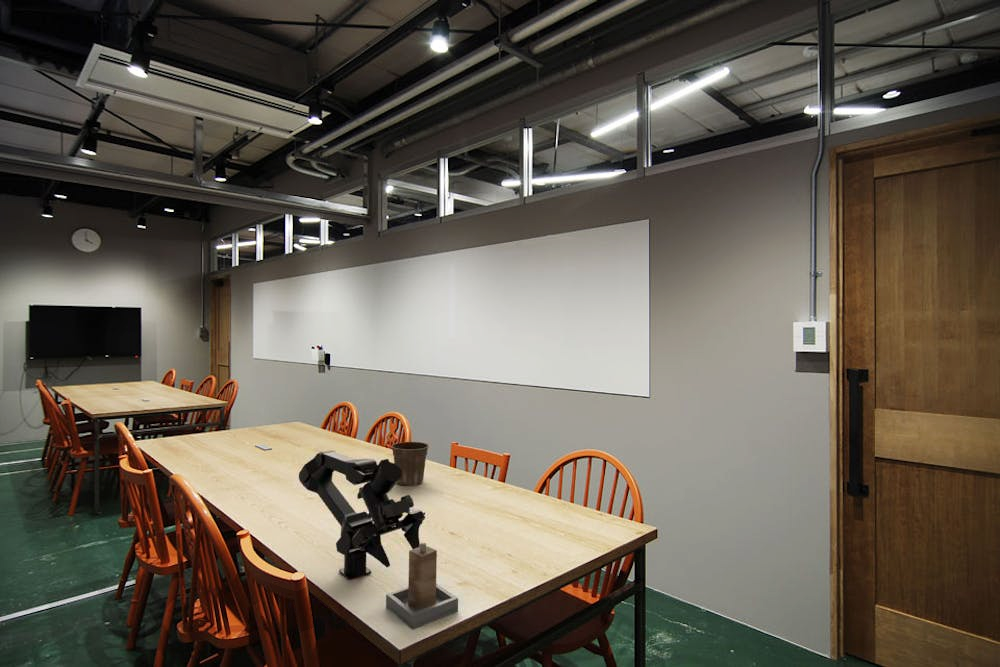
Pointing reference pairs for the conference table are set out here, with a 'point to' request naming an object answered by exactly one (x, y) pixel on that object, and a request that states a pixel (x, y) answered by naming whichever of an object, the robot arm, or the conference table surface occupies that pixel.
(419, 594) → the block
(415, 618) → the tray
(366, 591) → the conference table surface
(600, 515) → the conference table surface
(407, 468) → the plant pot
